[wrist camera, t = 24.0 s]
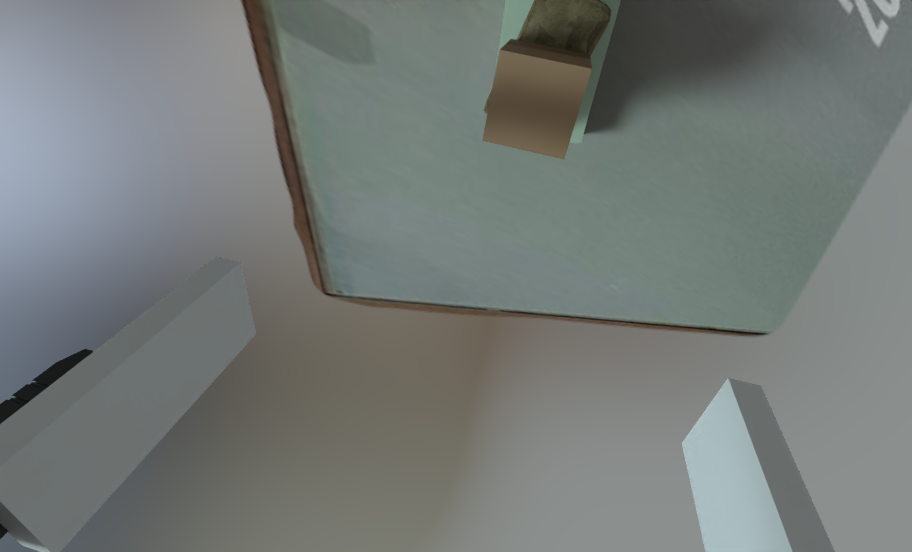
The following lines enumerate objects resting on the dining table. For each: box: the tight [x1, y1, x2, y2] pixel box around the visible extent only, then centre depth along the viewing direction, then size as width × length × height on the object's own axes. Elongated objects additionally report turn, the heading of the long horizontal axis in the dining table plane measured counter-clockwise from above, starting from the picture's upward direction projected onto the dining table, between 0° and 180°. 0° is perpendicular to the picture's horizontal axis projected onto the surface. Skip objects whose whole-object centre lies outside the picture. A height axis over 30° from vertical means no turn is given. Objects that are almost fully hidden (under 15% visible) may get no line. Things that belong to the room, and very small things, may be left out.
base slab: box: [493, 0, 621, 144], centre depth 39 cm, size 12×9×3 cm
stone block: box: [484, 0, 611, 114], centre depth 36 cm, size 6×12×5 cm, turn 157°
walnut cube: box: [483, 39, 592, 159], centre depth 32 cm, size 6×6×6 cm
